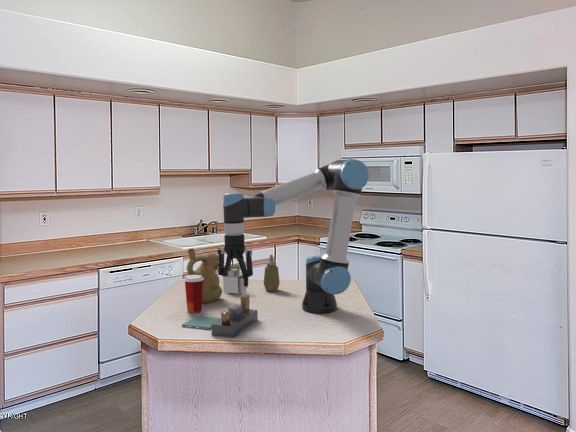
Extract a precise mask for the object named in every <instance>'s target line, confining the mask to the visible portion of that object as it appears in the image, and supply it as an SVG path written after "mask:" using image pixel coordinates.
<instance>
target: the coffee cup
mask: <svg viewBox="0 0 576 432" xmlns="http://www.w3.org/2000/svg"><path fill="white" fill-rule="evenodd" d="M203 280H204V279H203V277H202V275H189V274H188V275H186V276H185V277H184V279H183V281H184V286H185V288H184V289H185V298H186V299H185V300H186V306H187V307H186V311H187V312H188V313H189V312H192V313H191V314H195V313H194V312H198V313H201V312H202V311H201V310H202V308H203V303H202V292H203ZM200 311H201V312H200Z"/></svg>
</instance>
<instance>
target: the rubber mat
mask: <svg viewBox="0 0 576 432" xmlns="http://www.w3.org/2000/svg"><path fill="white" fill-rule="evenodd" d="M219 319H221V317H213V316H204V315H196V316H194V317H192V318H191V319H189V320H188V321H186V322H183V323H182V324H181V327H182V326H191V327H199V328H206V329H205V330H207V329H210V328H212V325H211V324H213V323H214V322H216V321H218V320H219ZM199 328H198V329H199ZM210 330H211V329H210Z"/></svg>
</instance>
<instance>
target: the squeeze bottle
mask: <svg viewBox="0 0 576 432" xmlns="http://www.w3.org/2000/svg"><path fill="white" fill-rule="evenodd" d="M279 273H280V271H279V267H278V266H277V262H276V261H275V259H274V256H273V254H270V255H269V259H268V261H267V262H266V266H265V267H264V273H263V274H264V275H263V286H264V288H265V291H266V292H270V293H271V292H272V293H273V292H277V291H278V290H279V287H280V283H281V282H280V274H279Z"/></svg>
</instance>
